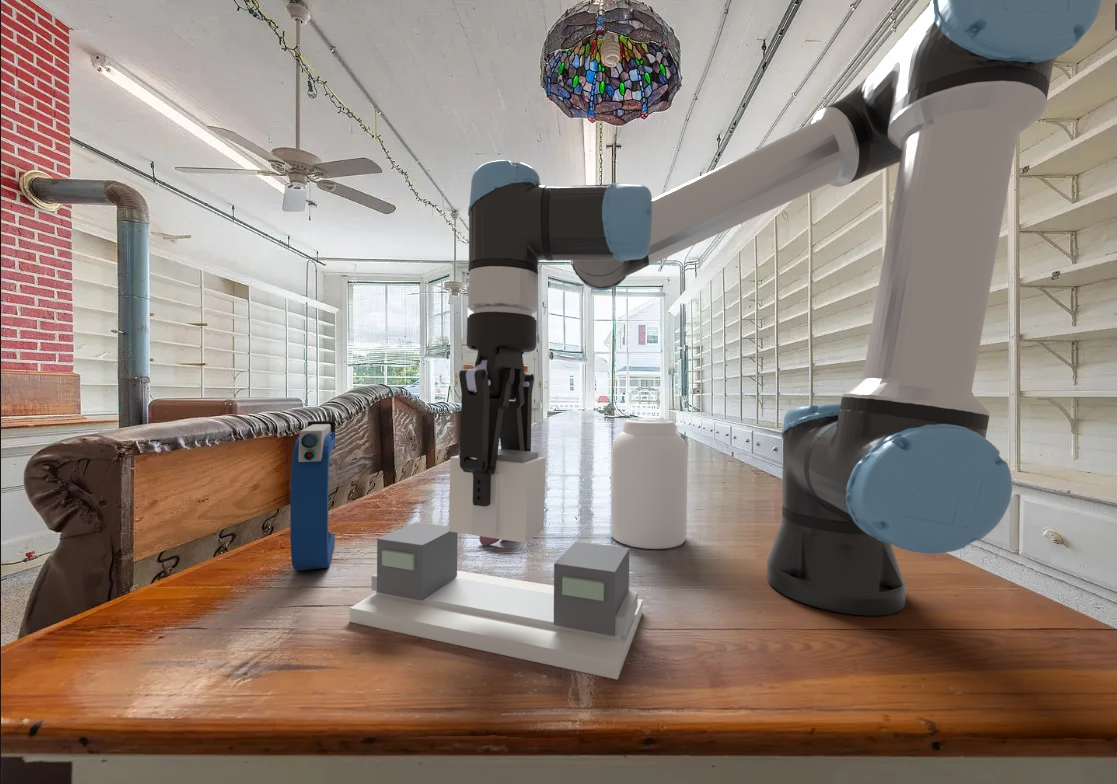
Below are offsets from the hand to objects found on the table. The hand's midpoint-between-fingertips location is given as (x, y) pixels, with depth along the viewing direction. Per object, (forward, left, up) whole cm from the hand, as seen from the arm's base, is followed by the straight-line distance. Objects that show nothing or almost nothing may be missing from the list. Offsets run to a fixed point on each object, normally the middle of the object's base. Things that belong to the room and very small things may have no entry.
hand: (497, 527), depth 52 cm
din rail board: (0, 0, -10) cm, 10 cm away
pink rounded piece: (+11, -25, -10) cm, 29 cm away
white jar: (-11, -34, -10) cm, 37 cm away
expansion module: (0, 0, 0) cm, 0 cm away
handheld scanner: (+32, -6, -10) cm, 34 cm away
